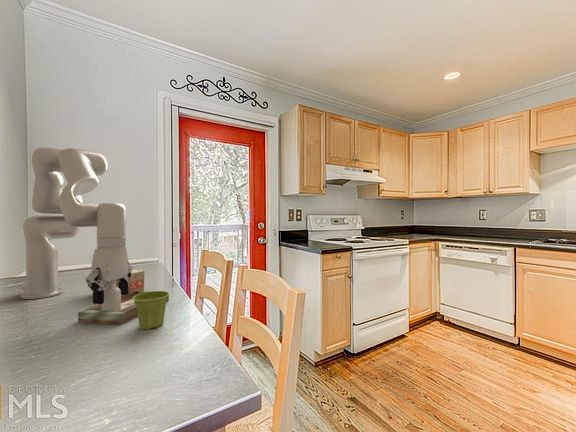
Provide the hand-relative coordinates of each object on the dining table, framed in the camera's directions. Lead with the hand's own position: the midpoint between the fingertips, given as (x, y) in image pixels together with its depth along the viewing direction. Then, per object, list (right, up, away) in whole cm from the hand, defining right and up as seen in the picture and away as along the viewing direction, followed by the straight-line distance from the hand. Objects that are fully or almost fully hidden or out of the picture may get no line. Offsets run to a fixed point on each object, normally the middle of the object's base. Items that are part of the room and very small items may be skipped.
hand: (111, 298), depth 86 cm
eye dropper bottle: (0, -5, 0) cm, 5 cm away
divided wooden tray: (+1, -6, +7) cm, 9 cm away
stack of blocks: (-13, -5, +25) cm, 28 cm away
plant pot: (+15, -6, -6) cm, 17 cm away
